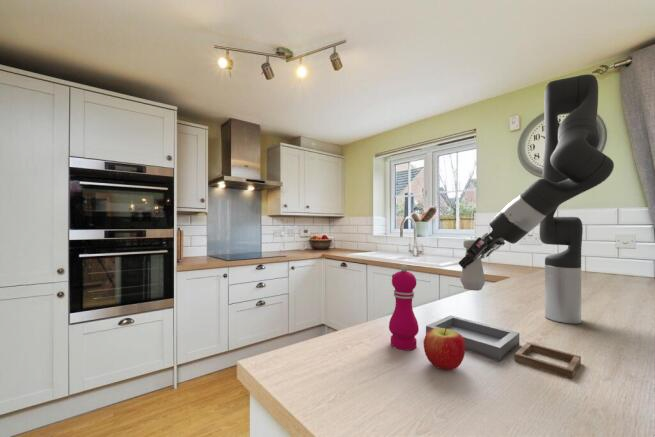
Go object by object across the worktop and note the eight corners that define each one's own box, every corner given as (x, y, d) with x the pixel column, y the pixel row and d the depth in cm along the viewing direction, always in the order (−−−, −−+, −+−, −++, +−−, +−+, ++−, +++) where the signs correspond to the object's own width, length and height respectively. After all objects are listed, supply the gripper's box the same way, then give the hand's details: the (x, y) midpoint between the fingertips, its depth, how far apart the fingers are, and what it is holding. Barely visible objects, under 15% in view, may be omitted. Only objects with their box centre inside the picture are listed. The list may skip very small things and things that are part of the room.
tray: (450, 325, 88) (450, 315, 88) (519, 344, 74) (519, 332, 74) (425, 337, 78) (425, 325, 78) (500, 361, 65) (500, 347, 65)
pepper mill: (420, 342, 75) (420, 264, 75) (416, 353, 68) (416, 268, 69) (392, 337, 78) (392, 262, 78) (385, 347, 71) (386, 265, 72)
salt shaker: (488, 292, 73) (488, 240, 73) (463, 290, 74) (463, 239, 74) (480, 287, 79) (480, 238, 79) (458, 286, 80) (458, 238, 80)
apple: (446, 381, 56) (447, 329, 57) (414, 362, 64) (415, 316, 64) (474, 371, 60) (474, 323, 60) (441, 355, 68) (441, 311, 68)
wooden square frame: (527, 348, 72) (527, 342, 72) (580, 363, 65) (580, 356, 65) (514, 360, 65) (514, 353, 65) (572, 378, 58) (572, 371, 58)
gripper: (513, 209, 76) (465, 253, 85) (493, 207, 66) (442, 256, 75) (538, 230, 72) (485, 273, 81) (520, 231, 62) (462, 280, 71)
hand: (464, 265), depth 78 cm, fingers closed on salt shaker, 3 cm apart
